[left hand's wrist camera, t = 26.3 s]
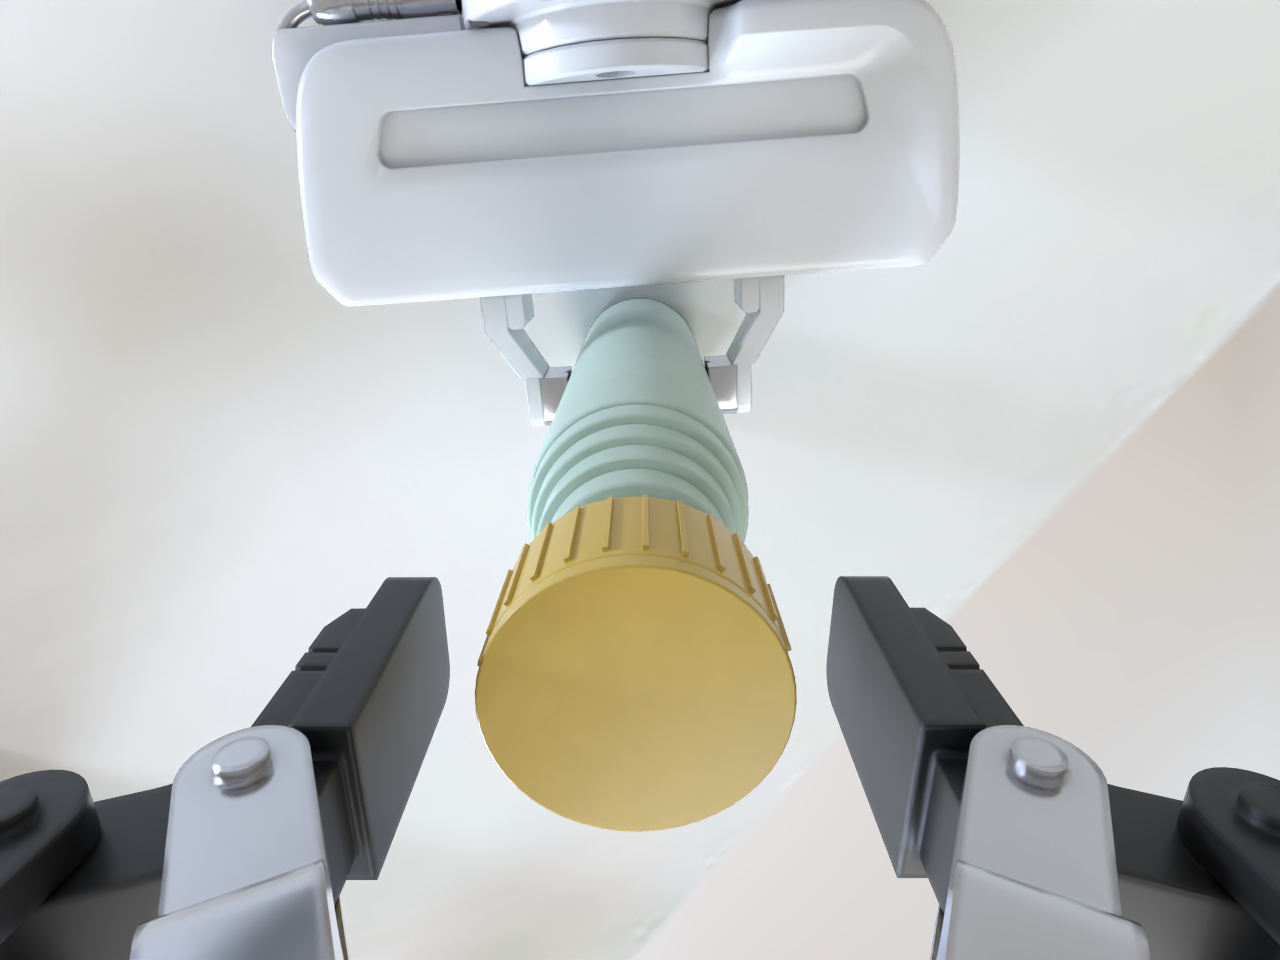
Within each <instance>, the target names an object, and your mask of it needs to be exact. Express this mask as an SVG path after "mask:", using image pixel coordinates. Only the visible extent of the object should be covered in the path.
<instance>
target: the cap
mask: <svg viewBox="0 0 1280 960" xmlns="http://www.w3.org/2000/svg"><path fill="white" fill-rule="evenodd" d="M486 634H487V638H486V640H485V643H484V646H483V649H482V652H481V655H480V657H479V660H478V666H479V670H478V674H477V679H476V688H475V704H476V714H477V719H478V724H479V728H480V731H481V734H482V736H483V739H484V742H485V744H486V747H487V748H488V750H489V752H490V754H491V756H492V757H493V759H494V761H495V762H496V764H497V765H498V766H499V768H500V769H501V770H502V772H503V773H504V774H505V776H506V777H507V778H508V779H509V780H510V781H511V782H512V783H513V784H514V785H515V786H516V787H517V788H518V789H519V790H521V791H522V792H523V793H524V794H526V795H527V796H528V797H529V798H531V799H532V800H533V801H535V802H537V803H538V804H540V805H541V806H543V807H545V808H546V809H548V810H550V811H552V812H554V813H556V814H558V815H560V816H563V817H565V818H567V819H570V820H573V821H576V822H579V823H582V824H585V825H589V826H594V827H598V828H602V829H610V830H618V831H654V830H663V829H669V828H675V827H680V826H683V825H687V824H690V823H694V822H697V821H700V820H702V819H705V818H707V817H710V816H712V815H715V814H717V813H719V812H720V811H722V810H724V809H726V808H728V807H730V806H732V805H733V804H734V803H736V802H737V801H739V800H740V799H742V798H743V797H744V796H746V795H747V794H748V793H749V792H751V791H752V790H753V789H754V788H755V787H756V786H757V785H758V784H759V783H760V782H761V781H762V780H763V779H764V778H765V777H766V776H767V774H768V773H769V772H770V771H771V770H772V768H773V767H774V765H775V764H776V762H777V761H778V759H779V758H780V756H781V755H782V752H783V750H784V748H785V746H786V744H787V742H788V740H789V737H790V733H791V730H792V727H793V723H794V719H795V711H796V704H797V703H796V683H795V676H794V672H793V667H792V664H791V661H790V658H789V655H788V652H787V651H790V650H791V646H790V643H789V640H788V637H787V634H786V631H785V628H784V625H783V622H782V619H781V616H780V613H779V610H778V607H777V604H776V601H775V598H774V595H773V592H772V589H771V586H770V584H767V582H766V579H765V576H764V573H763V570H762V567H761V564H760V561H759V559H758V557H757V556H756V557H753V556H752V554H751V553H750V552H749V550H748V549H747V547H746V546H745V545H744V543H743V542H742V541H741V537H740V535H739V534H738V533H737V532H736V533H735V534H734V533H733V532H732V531H731V530H729V529H728V528H727V527H726V526H724V525H723V524H722V523H720V522H719V521H718V520H716V519H715V518H714V515H712V514H711V513H709V514H708V515H707V514H706V513H704V512H702V511H700V510H697V509H695V508H693V507H690V506H688V505H685V504H683V502H682V501H679V500H677V502H675V501H671V500H667V499H660V498H654V497H648V495H642V497H635V496H630V497H620V498H613V496H612V497H608V498H607V500H602V501H598V502H594V503H591V504H588V505H585V506H583V507H580V506H577V507H574V510H573V511H571V512H569V513H567V514H565V515H563V516H562V517H560V518H559V519H557V520H556V521H554V522H553V523H550V522H548V523H547V524H546V525H545V528H544V530H543V531H542V532H540V533H539V534H538V535H537V536H536V537H535V538H534V539H533V540H532V542H531V543H530V544H529V545H527V544H525V545H524V546H523V548H522V551H521V554H520V557H519V560H518V561H517V563H516V565H515V567H514V569H513V571H512V570H509V571H508V573H507V576H506V579H505V582H504V584H503V587H502V590H501V593H500V595H499V598H498V601H497V604H496V607H495V609H494V612H493V615H492V618H491V620H490V623H489V626H488V629H487V632H486Z"/></svg>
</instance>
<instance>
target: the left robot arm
mask: <svg viewBox="0 0 1280 960" xmlns="http://www.w3.org/2000/svg"><path fill="white" fill-rule="evenodd" d="M449 677H450V664H449V653H448V644H447V635H446V626H445V616H444V607H443V598H442V590H441V585H440V582H439V580H438V579H437V578H436V577H389V578H387V579H386V580H385V581H384V582H383V584H382V585H381V587H380V588H379V590H378V591H377V593H376V594H375V596H374V597H373V599H372V600H371V602H370V603H369V605H368V606H367V608H366V609H350V610H349V611H347V612H346V613H344V614H343V615H341V616H340V617H338V618H337V619H336V620H334V621H333V622H331V623H330V624H328V625H327V626H325V627H324V628H323V630H322V631H321V632H320V634H319V635H318V636H317V638H316V639H315V640H314V642H313V643H312V645H311V646H310V647H309V652H308V653H305V654H304V655H303V657H302V658H301V660H300V661H299V662H298V664H297V665H296V669H295V671H292V672H291V673H290V674H289V676H288V677H287V679H286V680H285V681H284V683H283V684H282V685H281V687H280V688H279V689H278V691H277V692H276V694H275V695H274V696H273V698H272V699H271V700H270V702H269V703H268V704H267V706H266V707H265V709H264V710H263V711H262V713H261V714H260V715H259V717H258V718H257V719H256V721H255V722H254V723H253V725H252V726H251V727H250V728H246V729H242V730H239V731H236V732H233V733H230V734H228V735H225V736H223V737H220V738H218V739H217V740H215V741H213V742H211V743H209V744H208V745H206V746H204V747H203V748H201V749H200V750H199V751H197V752H196V753H195V754H193V755H192V756H191V757H190V758H189V759H188V760H187V761H186V762H185V763H184V764H183V765H182V767H181V768H180V769H179V771H178V772H177V774H176V776H175V778H174V781H173V784H170V785H167V786H163V787H159V788H156V789H151V790H147V791H142V792H138V793H133V794H129V795H124V796H120V797H115V798H111V799H106V800H102V801H97V802H93V800H92V797H91V794H90V791H89V788H88V785H87V783H86V781H85V779H84V778H83V777H81V776H80V775H79V774H76V773H74V772H71V771H65V770H45V771H37V772H32V773H27V774H23V775H20V776H16V777H13V778H10V779H7V780H4V781H1V782H0V960H350V957H349V950H348V944H347V937H346V930H345V923H344V917H343V912H342V907H341V902H340V897H339V895H340V893H341V891H342V888H343V886H344V884H345V881H346V880H377V879H378V877H379V874H380V871H381V869H382V866H383V864H384V861H385V858H386V856H387V853H388V851H389V848H390V845H391V843H392V840H393V838H394V835H395V832H396V830H397V827H398V825H399V822H400V819H401V817H402V814H403V812H404V809H405V806H406V804H407V801H408V799H409V796H410V793H411V791H412V788H413V786H414V783H415V780H416V778H417V775H418V773H419V770H420V767H421V765H422V762H423V760H424V757H425V754H426V752H427V749H428V747H429V744H430V742H431V739H432V736H433V734H434V731H435V729H436V726H437V723H438V721H439V718H440V716H441V713H442V710H443V708H444V705H445V702H446V699H447V694H448V688H449ZM827 685H828V692H829V697H830V700H831V704H832V706H833V709H834V712H835V714H836V717H837V719H838V722H839V725H840V727H841V730H842V733H843V735H844V738H845V741H846V743H847V746H848V748H849V751H850V754H851V756H852V759H853V762H854V764H855V767H856V770H857V772H858V775H859V778H860V780H861V783H862V786H863V788H864V791H865V793H866V796H867V799H868V801H869V804H870V807H871V809H872V812H873V815H874V817H875V820H876V822H877V825H878V828H879V830H880V833H881V836H882V838H883V841H884V844H885V846H886V849H887V852H888V854H889V857H890V859H891V862H892V865H893V867H894V870H895V873H896V875H897V878H929V881H930V883H931V886H932V888H933V890H934V893H935V895H936V897H937V900H938V902H939V907H938V912H937V917H936V923H935V930H934V937H933V944H932V950H931V957H930V960H1280V781H1279V780H1277V779H1274V778H1271V777H1268V776H1266V775H1263V774H1259V773H1255V772H1252V771H1247V770H1242V769H1237V768H1226V767H1220V768H1210V769H1205V770H1202V771H1200V772H1198V773H1196V774H1195V775H1194V776H1193V777H1192V779H1191V781H1190V783H1189V786H1188V789H1187V792H1186V795H1185V798H1184V801H1180V800H1176V799H1171V798H1167V797H1162V796H1158V795H1153V794H1149V793H1144V792H1139V791H1135V790H1131V789H1126V788H1122V787H1117V786H1114V785H1110V784H1107V781H1106V778H1105V776H1104V774H1103V772H1102V771H1101V769H1100V768H1099V767H1098V765H1097V764H1096V763H1095V762H1094V761H1093V760H1092V759H1091V758H1090V757H1089V756H1088V755H1087V754H1085V753H1084V752H1083V751H1081V750H1080V749H1079V748H1077V747H1076V746H1074V745H1072V744H1071V743H1069V742H1067V741H1065V740H1063V739H1061V738H1060V737H1057V736H1055V735H1052V734H1050V733H1047V732H1044V731H1041V730H1038V729H1034V728H1030V727H1024V726H1023V724H1022V723H1021V722H1020V720H1019V719H1018V717H1017V716H1016V715H1015V713H1014V712H1013V711H1012V709H1011V708H1010V706H1009V705H1008V704H1007V702H1006V701H1005V700H1004V698H1003V697H1002V696H1001V694H1000V693H999V691H998V690H997V689H996V687H995V686H994V684H993V683H992V682H991V680H990V679H989V678H988V676H987V675H986V673H985V672H984V671H983V670H980V668H979V664H978V662H977V661H976V660H975V658H974V657H973V656H972V654H971V653H970V652H967V650H966V646H965V645H964V643H963V642H962V640H961V639H960V638H959V636H958V635H957V633H956V632H955V631H954V629H953V628H952V627H951V626H950V625H949V624H947V623H946V622H944V621H943V620H942V619H940V618H939V617H937V616H936V615H934V614H933V613H931V612H930V611H928V610H927V609H925V608H909V606H908V605H907V603H906V602H905V600H904V599H903V597H902V596H901V594H900V593H899V591H898V589H897V588H896V586H895V585H894V583H893V582H892V580H891V579H890V578H889V577H886V576H841V577H839V578H838V579H837V582H836V585H835V590H834V598H833V608H832V617H831V627H830V636H829V646H828V655H827Z"/></svg>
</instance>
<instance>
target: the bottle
mask: <svg viewBox="0 0 1280 960" xmlns="http://www.w3.org/2000/svg"><path fill="white" fill-rule="evenodd" d="M642 495H648V497H654V498H660V499H667V500H671V501H675V502H677V500H679V501H682V502H683V504H685V505H688V506H690V507H693V508H695V509H697V510H700V511H702V512H704V513H706V514H707V515H708V514H709V513H711V514H712V515H714V518H715V519H716V520H718V521H719V522H720V523H722V524H723V525H724V526H726V527H727V528H728V529H729V530H731V531H732V532H733V533H734V534H735V533H736V532H737V533H738V534H739V535H740V537H741V541H742V542H743V543H744V541H745V537H746V532H747V527H748V514H749V512H748V491H747V483H746V479H745V474H744V471H743V468H742V465H741V463H740V460H739V457H738V455H737V452H736V449H735V447H734V444H733V441H732V439H731V436H730V433H729V431H728V428H727V426H726V423H725V420H724V418H723V415H722V412H721V410H720V407H719V404H718V402H717V399H716V396H715V394H714V391H713V388H712V386H711V383H710V380H709V378H708V375H707V372H706V370H705V367H704V364H703V362H702V359H701V356H700V354H699V351H698V349H697V346H696V343H695V341H694V338H693V335H692V333H691V330H690V328H689V327H688V325H687V323H686V322H685V321H684V319H683V318H682V317H681V316H680V315H679V314H678V313H677V312H676V311H675V310H673V309H672V308H670V307H669V306H667V305H665V304H663V303H661V302H658V301H655V300H651V299H643V298H636V299H629V300H625V301H621V302H619V303H617V304H614V305H613V306H611V307H609V308H608V309H606V310H605V311H604V312H603V313H601V314H600V316H599V317H598V318H597V319H596V320H595V321H594V323H593V324H592V326H591V328H590V330H589V332H588V334H587V337H586V339H585V342H584V344H583V347H582V349H581V351H580V354H579V356H578V359H577V361H576V364H575V366H574V369H573V371H572V374H571V376H570V379H569V381H568V384H567V386H566V389H565V391H564V394H563V396H562V399H561V401H560V404H559V406H558V409H557V411H556V413H555V416H554V418H553V421H552V423H551V426H550V428H549V431H548V433H547V436H546V438H545V441H544V443H543V446H542V448H541V451H540V453H539V456H538V458H537V461H536V463H535V466H534V468H533V471H532V475H531V479H530V484H529V494H528V510H527V515H528V528H529V533H530V537H531V541H532V540H533V539H534V538H535V537H536V536H537V535H538V534H539V533H540V532H542V531H543V530H544V528H545V525H546V524H547V523H548V522H550V523H553V522H554V521H556V520H557V519H559V518H560V517H562V516H563V515H565V514H567V513H569V512H571V511H573V510H574V507H577V506H580V507H583V506H585V505H588V504H591V503H594V502H598V501H602V500H607V498H608V497H612V496H613V498H620V497H630V496H635V497H642Z"/></svg>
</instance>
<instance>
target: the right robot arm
mask: <svg viewBox="0 0 1280 960" xmlns="http://www.w3.org/2000/svg"><path fill="white" fill-rule="evenodd" d="M310 17H313V19H314V20H315V21H316V23H317V24H319V25H323V26H312V27H300V28H297V27H298V26H299V25H300V24H301V23H302V22H303V21H305V20H306V19H308V18H310ZM376 20H384V21H376ZM368 21H372V22H368ZM272 56H273V63H274V67H275V72H276V77H277V81H278V86H279V91H280V95H281V100H282V105H283V108H284V111H285V113H286V116H287V118H288V120H289V122H290V124H291V126H292V127H293V129H294V131H295V132H296V138H297V158H298V174H299V185H300V196H301V206H302V214H303V221H304V228H305V235H306V241H307V248H308V254H309V259H310V264H311V268H312V271H313V274H314V276H315V278H316V279H317V281H318V282H319V283H320V284H321V285H322V286H323V287H324V288H325V289H326V290H327V291H328V292H329V293H330V294H331V295H332V296H333V297H334V298H335V299H336V300H337V301H339V302H340V303H341V304H342V305H344V306H349V307H353V306H369V305H382V304H396V303H410V302H423V301H437V300H451V299H464V298H478V297H480V302H481V309H482V316H483V323H484V330H485V333H486V335H487V336H488V337H489V338H490V340H491V341H492V342H493V344H494V345H495V346H496V348H497V349H498V350H499V351H500V353H501V354H502V355H503V357H504V358H505V359H506V361H507V362H508V363H509V364H510V366H511V367H512V368H513V370H514V371H515V372H516V374H517V375H518V376H519V377H520V379H525V385H526V393H527V401H528V408H529V416H530V422H531V424H532V426H546V425H547V426H548V425H551V423H552V421H553V418H554V416H555V413H556V411H557V409H558V406H559V404H560V401H561V399H562V396H563V394H564V391H565V389H566V386H567V384H568V381H569V379H570V376H571V374H572V366H567V367H549V365H548V364H547V362H546V361H545V359H544V358H543V356H542V355H541V354H540V352H539V351H538V349H537V348H536V346H535V345H534V343H533V342H532V341H531V339H530V338H529V336H528V335H527V333H526V332H525V331H524V329H523V328H524V327H525V326H526V325H527V324H528V323H529V321H530V320H531V319H532V318H533V317H534V310H533V301H532V294H533V293H547V292H560V291H574V290H588V289H602V288H615V287H629V286H643V285H656V284H670V283H684V282H698V281H711V280H725V279H734V297H735V302H736V304H737V305H738V306H739V307H740V308H741V309H742V310H743V311H744V312H745V313H747V314H746V316H745V318H744V320H743V322H742V324H741V326H740V328H739V330H738V332H737V334H736V336H735V338H734V340H733V342H732V344H731V345H730V347H729V349H728V351H727V353H726V354H727V355H720V356H710V357H704V365H705V370H706V372H707V375H708V378H709V380H710V383H711V386H712V388H713V391H714V394H715V396H716V399H717V402H718V404H719V407H720V410H721V412H722V414H727V413H742V412H750V411H751V406H752V387H751V364H752V363H755V362H756V360H757V358H758V357H759V355H760V353H761V351H762V350H763V348H764V346H765V344H766V342H767V341H768V339H769V337H770V335H771V334H772V332H773V330H774V328H775V327H776V325H777V323H778V321H779V319H780V318H781V316H782V314H783V312H784V275H794V274H807V273H821V272H835V271H848V270H862V269H876V268H889V267H903V266H916V265H923V264H926V263H927V262H928V261H930V260H931V258H932V257H933V256H934V255H935V254H936V253H937V251H938V250H939V249H940V247H941V246H942V245H943V243H944V242H945V241H946V239H947V238H948V237H949V235H950V234H951V232H952V230H953V228H954V224H955V220H956V212H957V203H958V187H959V144H960V138H959V104H958V88H957V73H956V63H955V56H954V51H953V46H952V43H951V39H950V36H949V33H948V31H947V28H946V26H945V24H944V22H943V20H942V19H941V17H940V16H939V14H938V13H937V12H936V11H935V9H934V8H933V7H932V6H931V5H930V4H928V3H927V2H926V1H925V0H307V1H304V2H302V3H300V4H298V5H296V6H295V7H293V8H292V9H291V10H290V11H289V12H288V13H287V14H286V15H285V17H284V18H283V20H282V21H281V23H280V25H279V27H278V29H277V32H276V33H275V35H274V37H273V43H272Z"/></svg>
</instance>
